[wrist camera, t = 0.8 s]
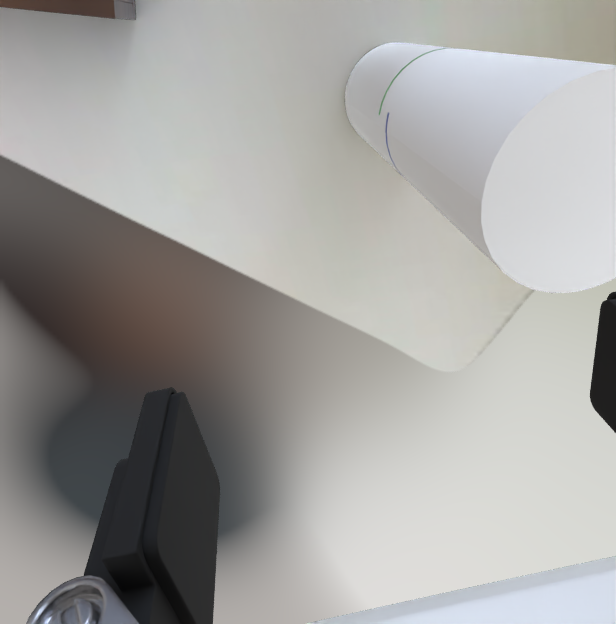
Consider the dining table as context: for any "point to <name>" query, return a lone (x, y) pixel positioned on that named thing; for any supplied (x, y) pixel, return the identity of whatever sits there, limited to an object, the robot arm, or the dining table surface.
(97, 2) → the chest lid
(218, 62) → the dining table surface
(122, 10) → the chest
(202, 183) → the dining table surface
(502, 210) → the cylindrical container
